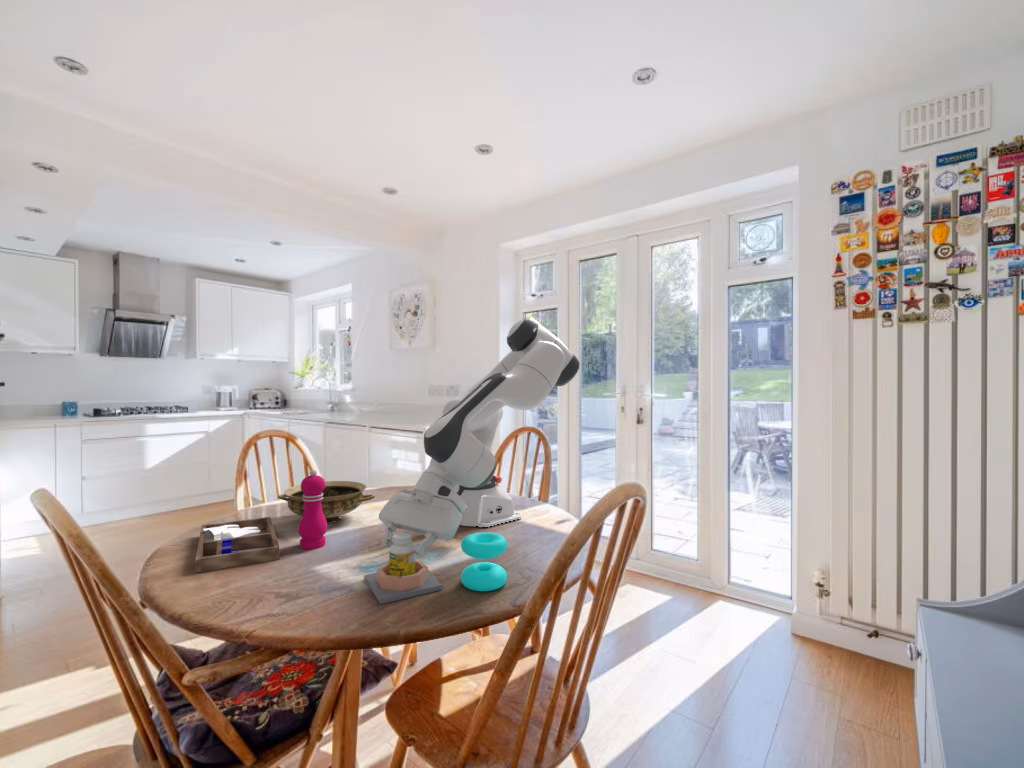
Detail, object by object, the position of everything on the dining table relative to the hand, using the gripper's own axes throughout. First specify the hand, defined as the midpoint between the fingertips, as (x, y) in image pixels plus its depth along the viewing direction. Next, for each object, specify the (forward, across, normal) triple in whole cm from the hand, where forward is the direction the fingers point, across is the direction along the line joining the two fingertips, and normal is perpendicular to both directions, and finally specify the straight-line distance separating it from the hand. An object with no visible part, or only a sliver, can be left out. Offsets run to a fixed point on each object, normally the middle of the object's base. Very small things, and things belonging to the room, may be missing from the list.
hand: (400, 548), depth 102 cm
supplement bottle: (+5, 0, +5) cm, 7 cm away
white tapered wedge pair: (+9, -57, +2) cm, 58 cm away
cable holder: (+14, -45, -3) cm, 48 cm away
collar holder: (+5, 0, +6) cm, 8 cm away
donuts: (-2, +14, +13) cm, 20 cm away
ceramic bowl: (-9, -54, +21) cm, 58 cm away
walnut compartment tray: (+10, -52, +1) cm, 53 cm away
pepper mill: (+2, -37, +9) cm, 38 cm away
